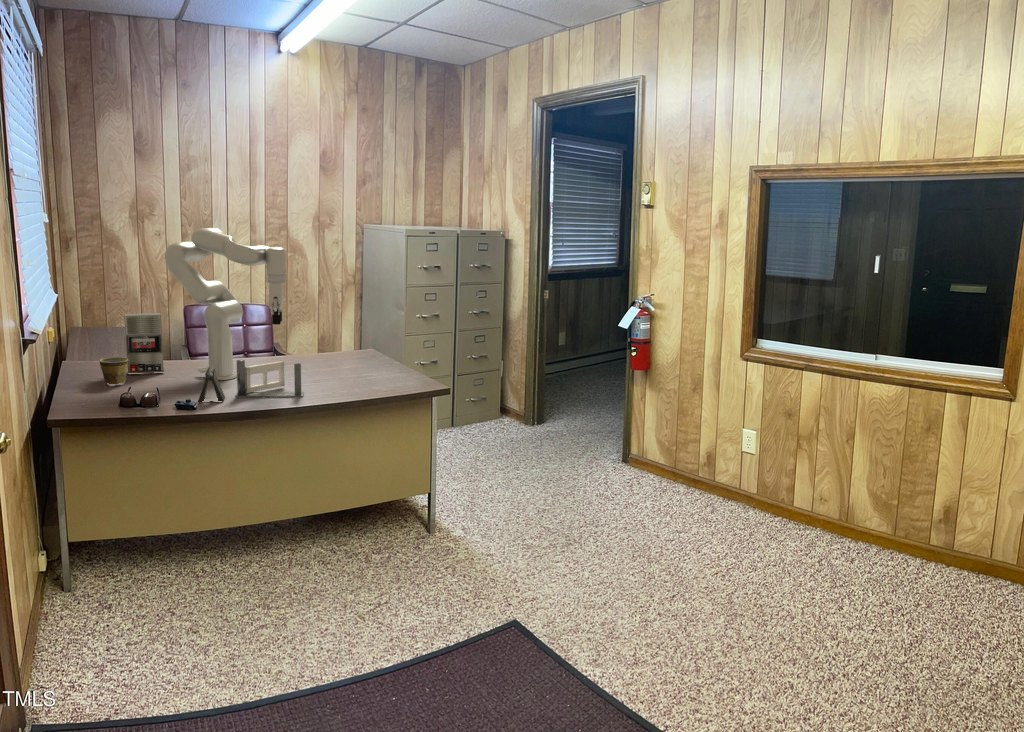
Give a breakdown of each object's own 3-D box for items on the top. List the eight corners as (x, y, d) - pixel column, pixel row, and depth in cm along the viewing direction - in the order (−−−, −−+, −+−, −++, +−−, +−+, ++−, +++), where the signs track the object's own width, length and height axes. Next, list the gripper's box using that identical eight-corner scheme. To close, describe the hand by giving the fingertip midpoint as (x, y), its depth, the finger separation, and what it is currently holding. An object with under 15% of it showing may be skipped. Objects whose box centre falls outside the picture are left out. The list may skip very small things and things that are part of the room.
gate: (247, 392, 297) (246, 367, 294) (245, 392, 298) (244, 367, 295) (284, 385, 310) (284, 361, 308) (282, 385, 311) (281, 361, 309)
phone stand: (225, 398, 292) (224, 367, 289) (223, 402, 286) (222, 371, 284) (199, 398, 290) (198, 367, 287) (197, 402, 284) (196, 371, 281)
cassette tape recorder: (127, 375, 317) (123, 316, 312) (128, 372, 323) (124, 313, 317) (164, 374, 323) (161, 315, 318) (164, 371, 328) (161, 313, 323)
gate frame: (235, 398, 292) (234, 362, 289) (237, 394, 298) (236, 358, 295) (303, 397, 298) (302, 362, 295) (303, 393, 303) (303, 359, 300)
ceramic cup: (135, 384, 305) (133, 359, 303) (111, 388, 297) (110, 363, 295) (114, 379, 311) (112, 355, 309) (90, 383, 303) (88, 359, 301)
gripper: (268, 276, 314) (269, 319, 318) (264, 281, 298) (265, 326, 302) (287, 276, 316) (288, 319, 320) (284, 281, 300) (285, 326, 303)
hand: (277, 322), depth 311 cm, fingers open, 6 cm apart
